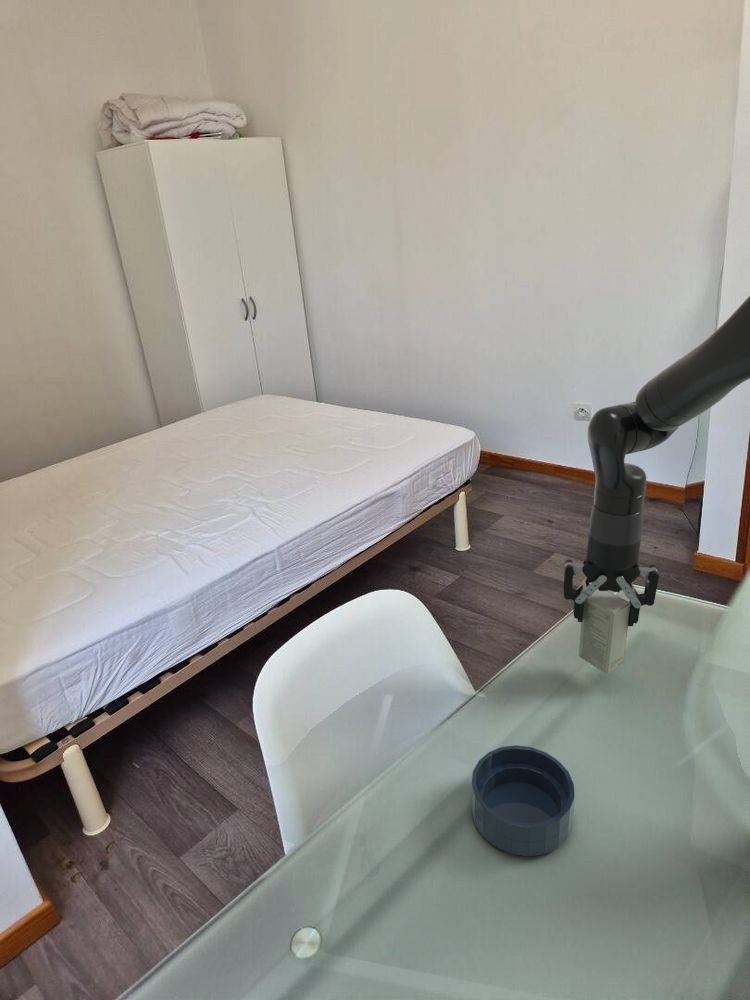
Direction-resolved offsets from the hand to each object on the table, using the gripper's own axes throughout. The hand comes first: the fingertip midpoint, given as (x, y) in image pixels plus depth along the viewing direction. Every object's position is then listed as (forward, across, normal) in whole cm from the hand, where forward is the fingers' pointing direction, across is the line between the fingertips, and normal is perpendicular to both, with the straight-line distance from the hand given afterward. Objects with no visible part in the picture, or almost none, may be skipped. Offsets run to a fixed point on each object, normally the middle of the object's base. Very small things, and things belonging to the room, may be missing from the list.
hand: (604, 621), depth 110 cm
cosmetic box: (+8, 0, 0) cm, 8 cm away
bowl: (+12, -12, -29) cm, 34 cm away
